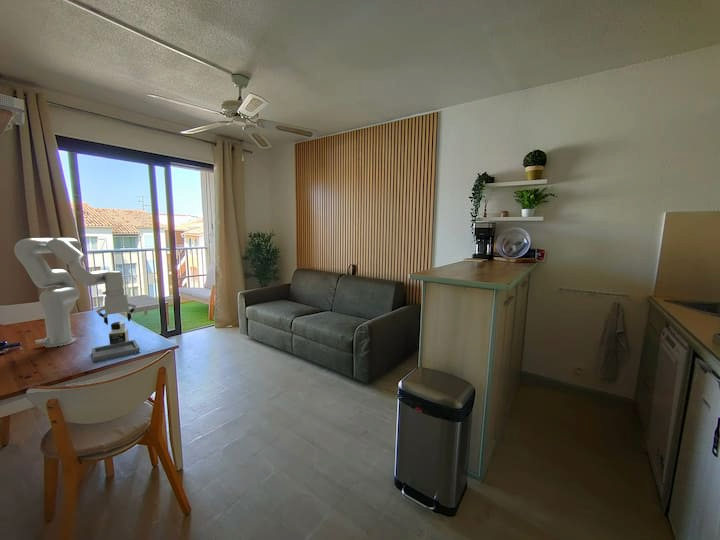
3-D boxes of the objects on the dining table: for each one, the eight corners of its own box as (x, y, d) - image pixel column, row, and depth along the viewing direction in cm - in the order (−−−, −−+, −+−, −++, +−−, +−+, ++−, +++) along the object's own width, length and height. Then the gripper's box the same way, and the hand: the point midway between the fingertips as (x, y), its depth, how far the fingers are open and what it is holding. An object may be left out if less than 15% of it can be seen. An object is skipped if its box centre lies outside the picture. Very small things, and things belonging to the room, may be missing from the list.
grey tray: (93, 362, 140) (93, 357, 140) (92, 352, 151) (91, 348, 151) (139, 352, 153) (139, 347, 152) (135, 343, 164) (134, 339, 163)
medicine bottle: (109, 346, 160) (107, 325, 159) (113, 341, 167) (111, 321, 165) (125, 343, 164) (124, 323, 162) (129, 339, 170) (127, 320, 168)
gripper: (94, 296, 153) (98, 327, 155) (135, 291, 165) (138, 320, 167) (93, 294, 158) (97, 324, 160) (133, 289, 170) (136, 317, 172)
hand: (118, 322), depth 164 cm, fingers open, 9 cm apart
